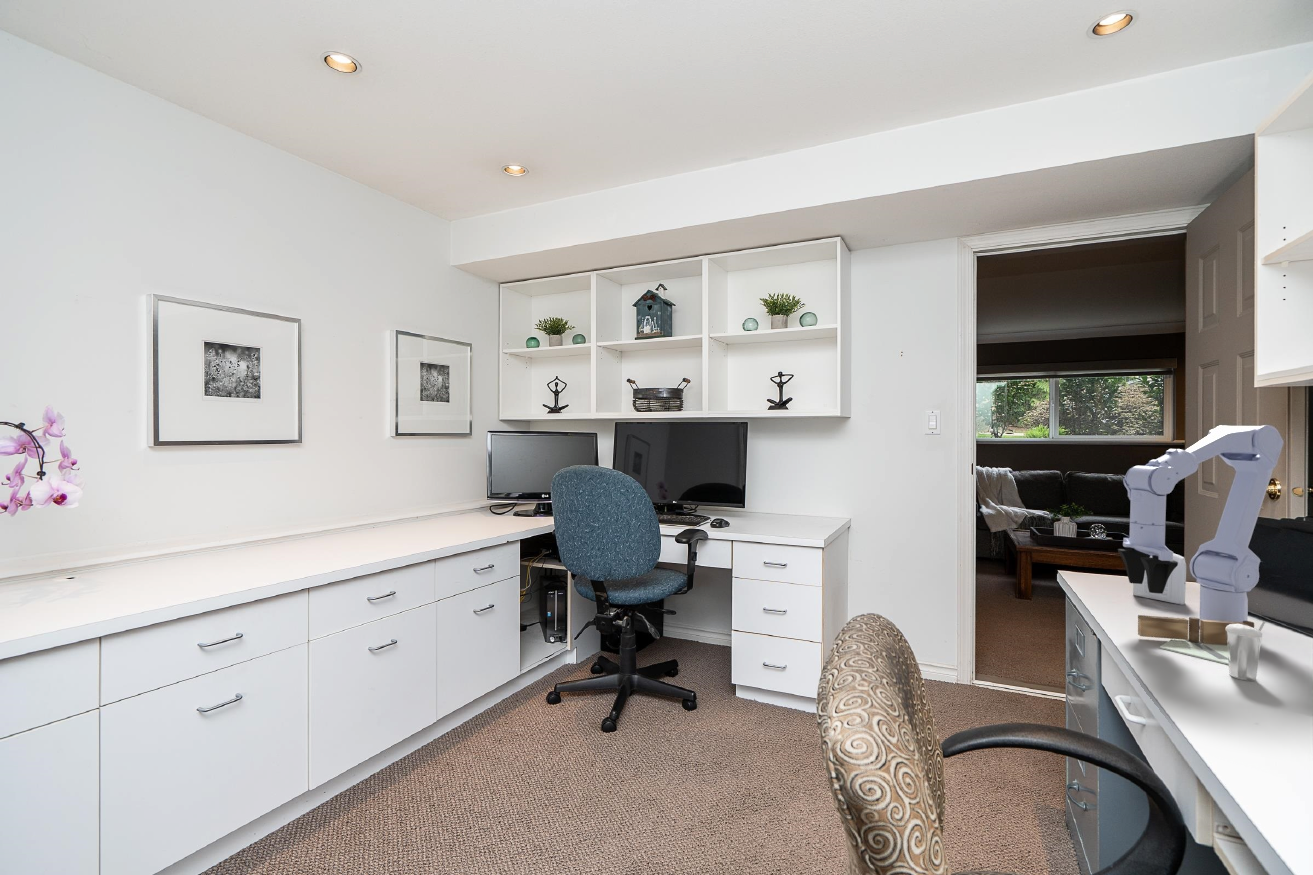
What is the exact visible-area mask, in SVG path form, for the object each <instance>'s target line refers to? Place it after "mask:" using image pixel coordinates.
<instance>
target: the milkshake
mask: <svg viewBox="0 0 1313 875" xmlns="http://www.w3.org/2000/svg"><path fill="white" fill-rule="evenodd" d="M1265 624H1266V621H1262V623H1261V625H1260V627H1259V628H1258V629H1257V628H1255V627H1254V628H1253V627H1250V626H1246V625H1242V624H1229V625H1228V626H1226V628H1225V629H1226V639H1227V649H1228V662H1229V665H1228V672H1229V675H1230V676H1231V677H1233V678H1235V679H1237V680H1242V681H1245V682H1255V681H1256V680H1257V675H1258V668H1259V658H1260V653H1261V652H1260V650H1261V643H1262V638H1263V633H1262V629H1263V628H1264V626H1265Z"/></svg>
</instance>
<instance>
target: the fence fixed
mask: <svg viewBox="0 0 1313 875" xmlns="http://www.w3.org/2000/svg"><path fill="white" fill-rule="evenodd" d="M1229 624H1242V625H1246V626H1250V627H1253V628H1255V622H1253V621H1249V620H1247V621H1243V622H1230V621H1216V620H1202V619H1200V617H1199V618H1198V617H1193V616H1190V617H1188V632H1189V638H1188V641H1190V642H1193V643H1199V634H1200V642H1202V643H1207V644H1220V645H1227V639H1226V629H1225V628H1226V626H1228V625H1229ZM1199 626H1200V628H1199Z"/></svg>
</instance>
